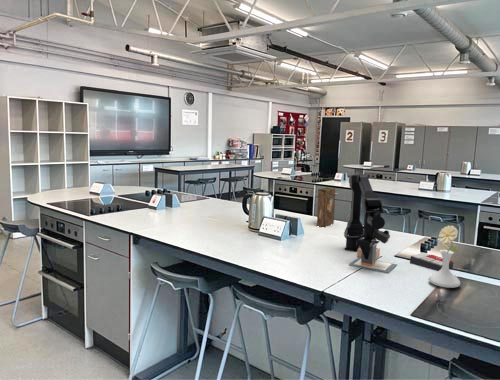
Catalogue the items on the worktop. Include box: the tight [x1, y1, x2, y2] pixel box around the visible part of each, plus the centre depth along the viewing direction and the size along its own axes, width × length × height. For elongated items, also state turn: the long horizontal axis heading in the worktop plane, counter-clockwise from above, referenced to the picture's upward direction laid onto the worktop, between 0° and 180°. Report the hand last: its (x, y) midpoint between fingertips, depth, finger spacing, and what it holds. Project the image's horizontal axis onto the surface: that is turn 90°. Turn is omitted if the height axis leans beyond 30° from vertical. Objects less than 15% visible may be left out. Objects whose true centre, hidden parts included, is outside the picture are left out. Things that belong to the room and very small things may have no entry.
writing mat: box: [348, 257, 398, 274], centre depth 175 cm, size 18×14×1 cm
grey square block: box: [361, 242, 378, 267], centre depth 174 cm, size 5×5×10 cm
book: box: [316, 187, 336, 228], centre depth 258 cm, size 16×6×25 cm, turn 144°
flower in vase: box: [428, 225, 461, 289], centre depth 150 cm, size 13×11×25 cm
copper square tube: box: [356, 247, 381, 260], centre depth 188 cm, size 8×8×4 cm
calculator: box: [409, 252, 454, 272], centre depth 177 cm, size 11×4×15 cm
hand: (368, 257), depth 174 cm, fingers closed on grey square block, 5 cm apart
